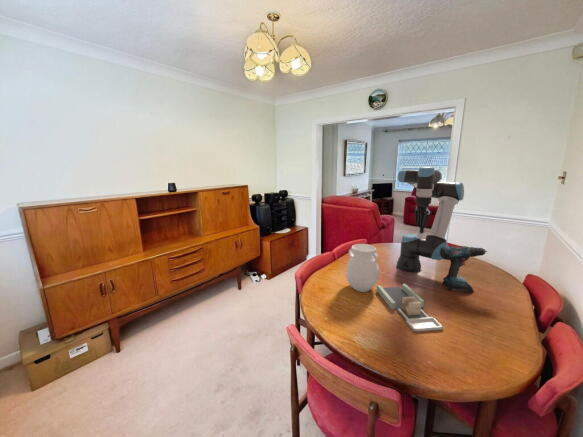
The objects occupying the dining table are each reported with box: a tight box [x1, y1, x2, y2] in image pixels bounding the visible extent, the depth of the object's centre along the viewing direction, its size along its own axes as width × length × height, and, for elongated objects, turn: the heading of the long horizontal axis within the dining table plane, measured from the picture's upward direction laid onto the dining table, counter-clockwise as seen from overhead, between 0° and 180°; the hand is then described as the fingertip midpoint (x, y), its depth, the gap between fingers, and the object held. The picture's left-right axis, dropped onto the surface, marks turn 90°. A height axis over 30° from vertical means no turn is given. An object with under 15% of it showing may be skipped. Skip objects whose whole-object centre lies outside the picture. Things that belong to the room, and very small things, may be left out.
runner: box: [382, 286, 431, 322], centre depth 129 cm, size 30×13×1 cm, turn 4°
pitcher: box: [345, 243, 380, 293], centre depth 142 cm, size 19×18×25 cm
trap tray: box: [405, 316, 444, 333], centre depth 111 cm, size 7×13×2 cm, turn 94°
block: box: [402, 296, 422, 315], centre depth 120 cm, size 6×6×6 cm
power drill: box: [440, 245, 488, 293], centre depth 140 cm, size 9×23×25 cm, turn 78°
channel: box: [376, 283, 425, 310], centre depth 132 cm, size 18×17×4 cm
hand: (419, 238), depth 139 cm, fingers closed
